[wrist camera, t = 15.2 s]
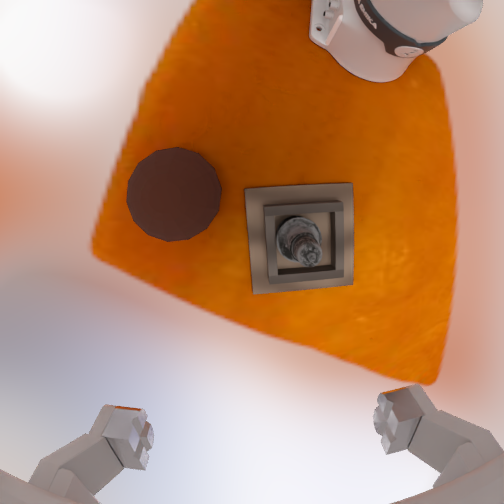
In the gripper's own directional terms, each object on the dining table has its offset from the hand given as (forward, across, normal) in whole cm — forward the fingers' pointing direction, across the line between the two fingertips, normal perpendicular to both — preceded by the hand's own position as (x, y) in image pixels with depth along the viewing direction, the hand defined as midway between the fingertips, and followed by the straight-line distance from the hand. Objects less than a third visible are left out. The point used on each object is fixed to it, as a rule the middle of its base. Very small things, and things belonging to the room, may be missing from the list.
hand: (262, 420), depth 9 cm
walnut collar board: (+35, -7, +3) cm, 35 cm away
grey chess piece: (+34, -6, +2) cm, 34 cm away
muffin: (+35, +9, -5) cm, 36 cm away
